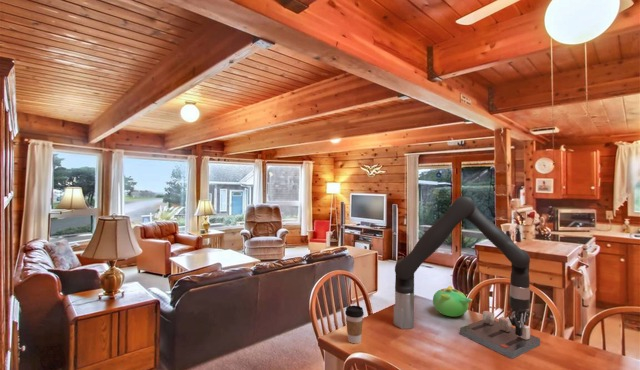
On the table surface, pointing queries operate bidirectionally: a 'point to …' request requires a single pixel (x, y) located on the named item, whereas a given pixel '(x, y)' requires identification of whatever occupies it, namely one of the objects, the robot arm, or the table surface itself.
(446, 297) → the green rounded blob
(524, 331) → the white rectangular block
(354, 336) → the coffee cup
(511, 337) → the switch panel
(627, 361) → the table surface
